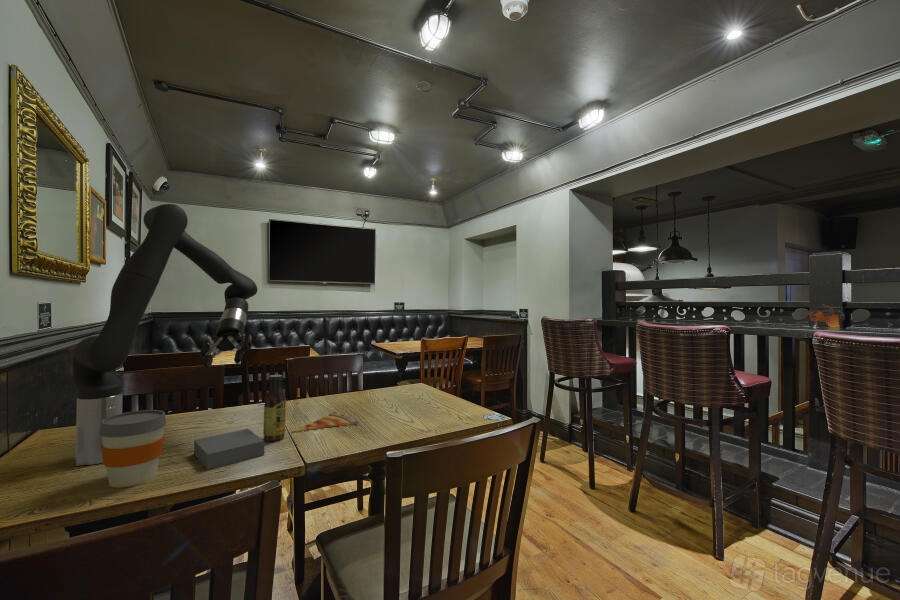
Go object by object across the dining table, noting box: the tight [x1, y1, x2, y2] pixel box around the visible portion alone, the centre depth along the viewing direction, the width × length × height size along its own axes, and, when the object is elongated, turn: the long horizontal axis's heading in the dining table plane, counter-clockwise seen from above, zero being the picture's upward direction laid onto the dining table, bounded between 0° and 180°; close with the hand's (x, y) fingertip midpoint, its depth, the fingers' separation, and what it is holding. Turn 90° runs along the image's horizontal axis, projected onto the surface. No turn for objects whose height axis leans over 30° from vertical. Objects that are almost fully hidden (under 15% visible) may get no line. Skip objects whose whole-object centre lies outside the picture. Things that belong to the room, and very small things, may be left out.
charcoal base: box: [193, 428, 265, 471], centre depth 109 cm, size 14×14×4 cm
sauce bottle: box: [263, 374, 287, 442], centre depth 121 cm, size 7×6×20 cm
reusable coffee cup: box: [99, 409, 167, 488], centre depth 94 cm, size 13×13×15 cm
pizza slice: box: [290, 410, 359, 434], centre depth 138 cm, size 16×22×2 cm
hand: (222, 364), depth 116 cm, fingers open, 8 cm apart
